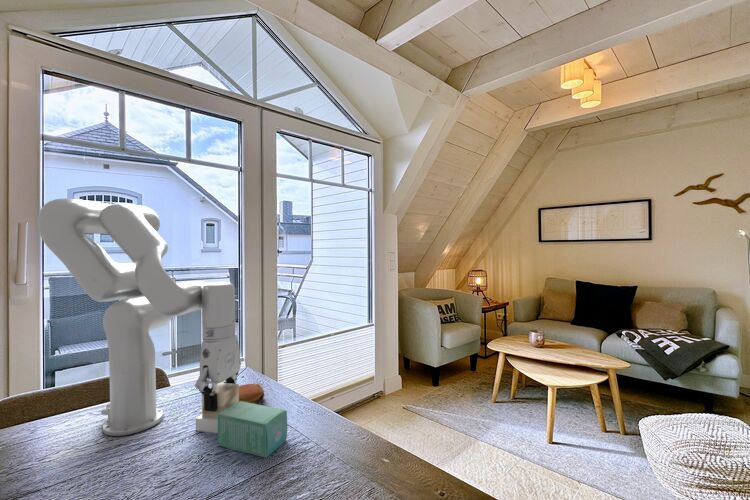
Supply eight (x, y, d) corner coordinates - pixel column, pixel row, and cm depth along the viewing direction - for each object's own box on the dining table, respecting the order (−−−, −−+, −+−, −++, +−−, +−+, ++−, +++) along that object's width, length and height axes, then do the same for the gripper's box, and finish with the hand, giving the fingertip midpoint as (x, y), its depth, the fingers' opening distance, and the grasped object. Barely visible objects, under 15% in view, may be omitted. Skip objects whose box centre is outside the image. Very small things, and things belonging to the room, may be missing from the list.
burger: (220, 411, 94) (220, 393, 94) (237, 396, 104) (237, 380, 104) (256, 412, 93) (256, 394, 93) (269, 397, 103) (269, 381, 103)
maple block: (223, 418, 83) (223, 393, 83) (202, 416, 85) (201, 391, 85) (239, 407, 89) (238, 384, 89) (218, 405, 91) (218, 382, 91)
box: (267, 459, 72) (266, 423, 72) (216, 447, 77) (216, 413, 77) (288, 441, 79) (287, 407, 79) (240, 431, 84) (240, 399, 84)
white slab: (195, 430, 84) (195, 418, 84) (217, 415, 92) (217, 403, 92) (225, 434, 82) (224, 421, 82) (245, 417, 90) (244, 406, 90)
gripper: (208, 342, 78) (209, 422, 78) (252, 325, 94) (253, 391, 94) (179, 340, 79) (181, 419, 79) (228, 324, 96) (229, 389, 96)
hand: (220, 403), depth 87 cm, fingers open, 6 cm apart
